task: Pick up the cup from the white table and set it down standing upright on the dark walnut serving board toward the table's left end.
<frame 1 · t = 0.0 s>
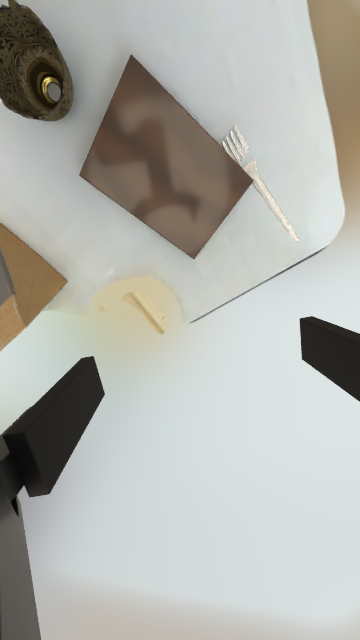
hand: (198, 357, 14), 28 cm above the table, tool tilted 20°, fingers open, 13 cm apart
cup: (55, 93, 27), on the table
walnut board: (168, 178, 32), on the table
fork: (263, 194, 35), on the table, touching walnut board
sandwich container: (14, 262, 37), on the table
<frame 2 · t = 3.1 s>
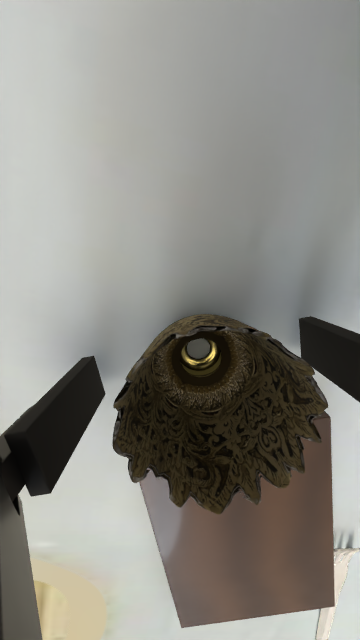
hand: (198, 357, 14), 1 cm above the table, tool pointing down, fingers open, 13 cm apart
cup: (198, 347, 16), on the table
walnut board: (239, 517, 19), on the table
fork: (321, 596, 23), on the table
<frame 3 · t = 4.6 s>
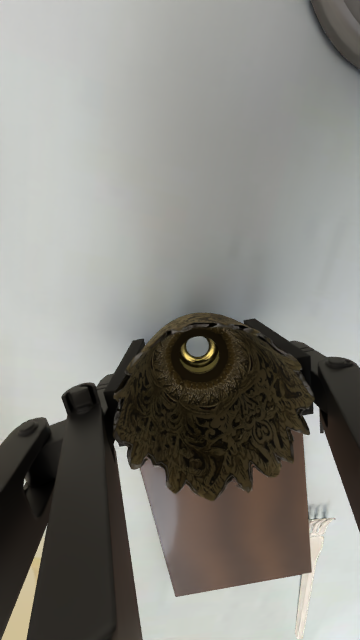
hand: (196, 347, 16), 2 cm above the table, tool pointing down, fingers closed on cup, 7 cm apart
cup: (197, 344, 16), point 2 cm above the table, touching gripper
walnut board: (226, 493, 22), on the table
fork: (302, 567, 25), on the table, touching walnut board
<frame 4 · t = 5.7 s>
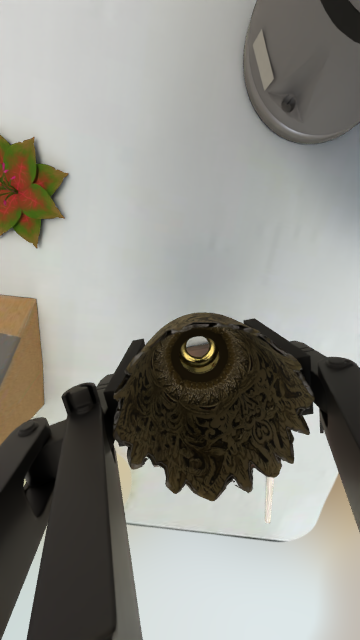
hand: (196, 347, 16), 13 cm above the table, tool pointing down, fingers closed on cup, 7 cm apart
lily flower: (19, 192, 25), on the table
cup: (197, 344, 16), point 13 cm above the table, touching gripper
fork: (267, 469, 36), on the table
sandwich container: (10, 352, 29), on the table
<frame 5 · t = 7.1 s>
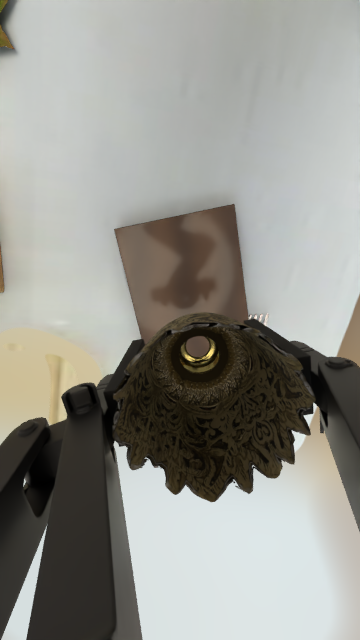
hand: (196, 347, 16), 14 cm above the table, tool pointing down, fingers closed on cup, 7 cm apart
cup: (197, 344, 16), point 14 cm above the table, touching gripper
walnut board: (188, 299, 29), on the table
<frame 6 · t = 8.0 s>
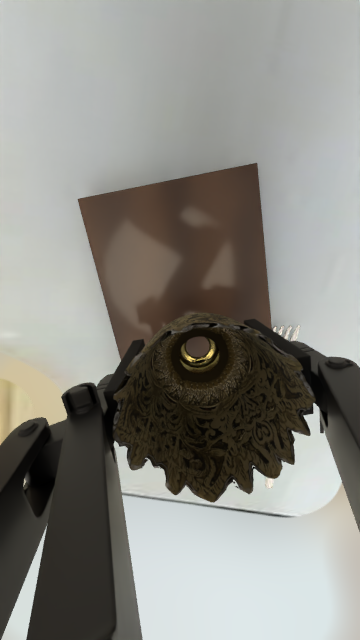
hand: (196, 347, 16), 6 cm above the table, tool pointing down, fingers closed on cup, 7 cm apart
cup: (197, 345, 16), point 5 cm above the table, touching gripper
walnut board: (187, 304, 21), on the table
when the fingers open (2 cm above the table, at t = 9.6 s): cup moves 3 cm, resting on walnut board.
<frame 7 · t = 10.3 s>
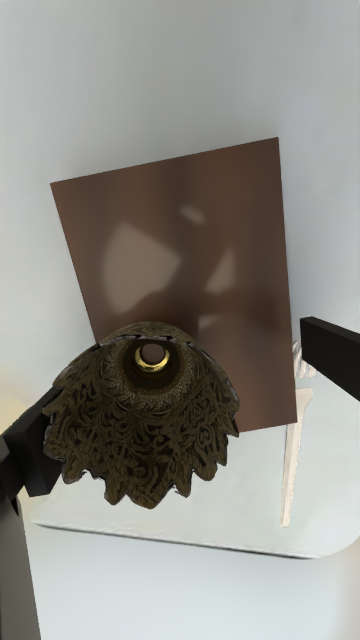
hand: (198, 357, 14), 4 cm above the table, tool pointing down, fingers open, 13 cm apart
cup: (152, 351, 16), point 1 cm above the table, touching walnut board
walnut board: (189, 315, 17), on the table
fork: (287, 435, 21), on the table
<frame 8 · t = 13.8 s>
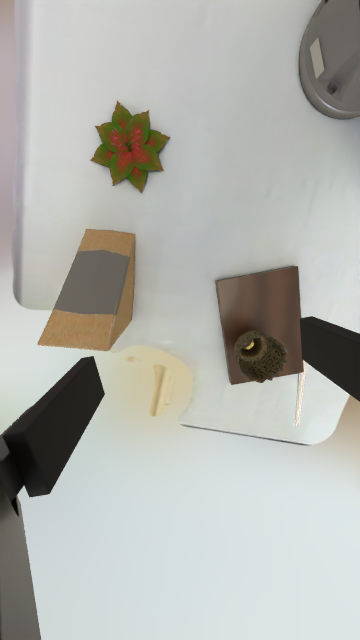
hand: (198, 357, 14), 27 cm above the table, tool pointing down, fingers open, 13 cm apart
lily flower: (131, 151, 35), on the table
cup: (246, 341, 41), point 1 cm above the table, touching walnut board
walnut board: (259, 327, 41), on the table
fork: (298, 380, 45), on the table
sandwich container: (110, 277, 39), on the table
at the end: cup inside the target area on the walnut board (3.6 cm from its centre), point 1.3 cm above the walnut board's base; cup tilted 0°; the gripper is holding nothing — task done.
